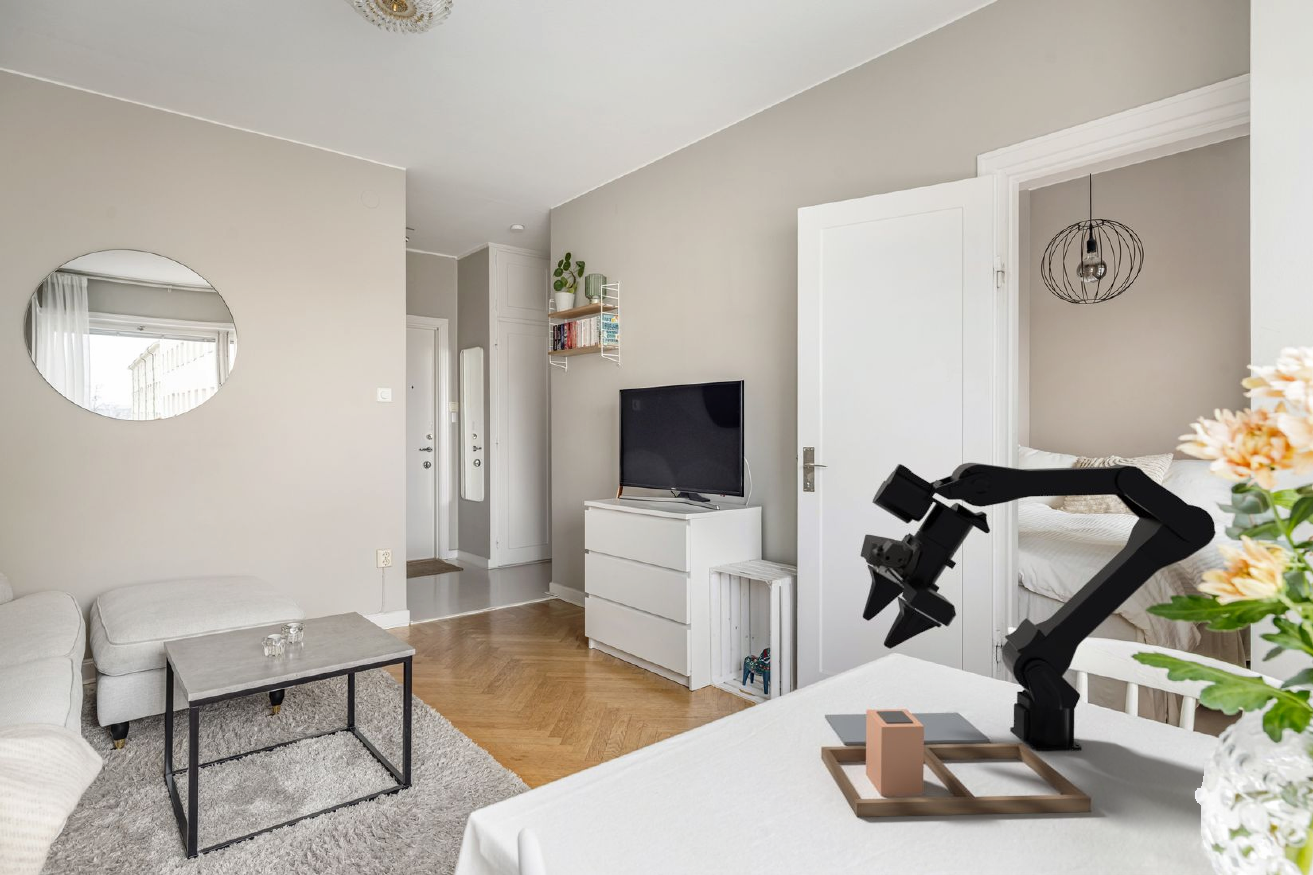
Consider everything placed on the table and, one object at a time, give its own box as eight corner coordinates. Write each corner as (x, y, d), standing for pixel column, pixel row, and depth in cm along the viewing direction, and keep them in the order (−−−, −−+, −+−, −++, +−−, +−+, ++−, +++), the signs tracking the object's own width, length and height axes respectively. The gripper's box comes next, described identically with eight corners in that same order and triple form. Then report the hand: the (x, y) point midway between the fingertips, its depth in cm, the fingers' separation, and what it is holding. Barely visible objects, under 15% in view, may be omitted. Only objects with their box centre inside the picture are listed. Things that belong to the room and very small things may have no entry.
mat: (958, 715, 104) (958, 712, 104) (989, 742, 95) (989, 739, 95) (824, 717, 103) (824, 714, 103) (844, 744, 94) (844, 741, 94)
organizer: (1021, 754, 92) (1021, 743, 92) (1090, 811, 78) (1090, 797, 78) (821, 758, 90) (821, 746, 90) (856, 816, 77) (856, 802, 77)
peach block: (905, 773, 86) (906, 707, 86) (923, 794, 82) (924, 724, 81) (865, 774, 86) (866, 708, 86) (880, 795, 81) (881, 725, 81)
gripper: (867, 497, 107) (812, 581, 109) (914, 533, 89) (847, 634, 91) (927, 533, 108) (872, 615, 110) (986, 575, 90) (918, 674, 92)
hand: (875, 632), depth 101 cm, fingers open, 9 cm apart
